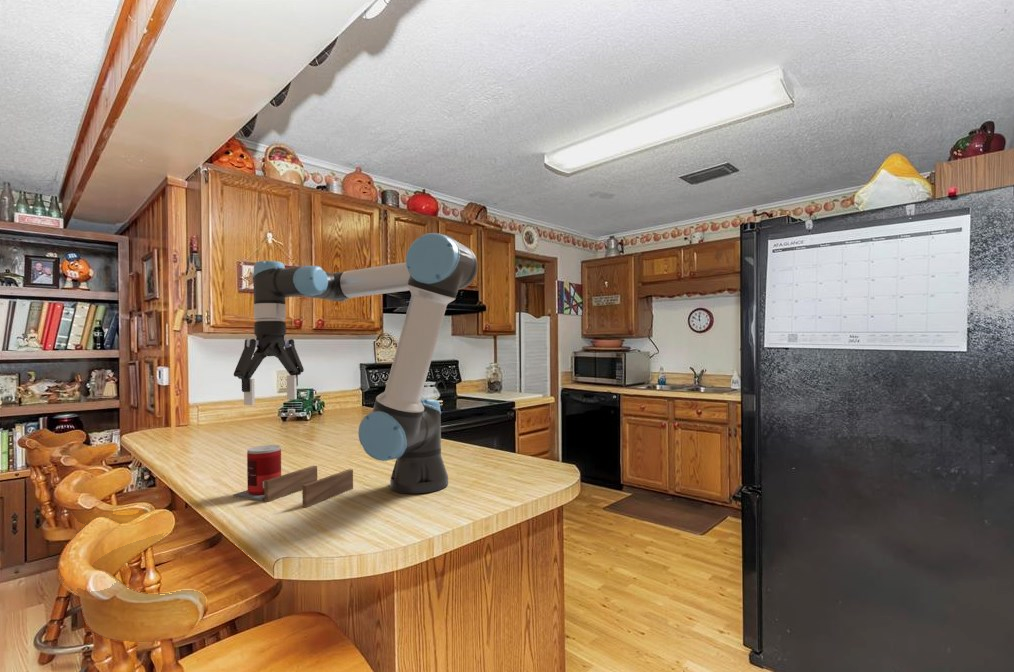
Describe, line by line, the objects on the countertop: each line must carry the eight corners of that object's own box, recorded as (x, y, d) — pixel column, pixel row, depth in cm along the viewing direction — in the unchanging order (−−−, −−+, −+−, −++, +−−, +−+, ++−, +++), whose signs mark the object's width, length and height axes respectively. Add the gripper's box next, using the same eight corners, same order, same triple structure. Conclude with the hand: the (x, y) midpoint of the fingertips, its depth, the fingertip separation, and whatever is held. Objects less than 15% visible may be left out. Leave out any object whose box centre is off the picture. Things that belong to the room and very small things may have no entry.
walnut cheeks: (353, 488, 129) (352, 469, 129) (306, 507, 114) (306, 485, 114) (314, 483, 134) (313, 465, 134) (264, 501, 119) (264, 480, 119)
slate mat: (294, 489, 129) (294, 487, 129) (262, 501, 120) (262, 498, 120) (266, 486, 133) (266, 484, 133) (233, 496, 123) (233, 494, 123)
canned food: (287, 486, 130) (286, 444, 130) (269, 495, 122) (269, 451, 122) (260, 486, 130) (259, 444, 131) (240, 495, 123) (240, 451, 123)
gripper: (295, 323, 142) (297, 396, 141) (216, 319, 118) (217, 407, 118) (316, 322, 139) (317, 397, 138) (238, 317, 116) (240, 408, 115)
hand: (271, 402), depth 128 cm, fingers open, 13 cm apart
